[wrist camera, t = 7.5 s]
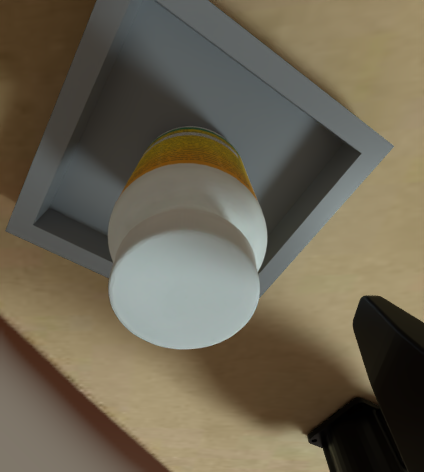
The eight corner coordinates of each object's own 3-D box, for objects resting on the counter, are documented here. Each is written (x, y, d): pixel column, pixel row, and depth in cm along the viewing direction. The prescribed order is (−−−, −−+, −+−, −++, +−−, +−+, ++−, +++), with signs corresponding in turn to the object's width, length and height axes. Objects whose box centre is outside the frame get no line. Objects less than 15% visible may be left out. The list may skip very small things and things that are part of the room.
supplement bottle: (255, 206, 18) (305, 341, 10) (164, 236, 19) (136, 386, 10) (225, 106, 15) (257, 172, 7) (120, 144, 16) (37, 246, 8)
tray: (225, 304, 22) (228, 332, 20) (28, 209, 18) (5, 231, 16) (368, 134, 17) (394, 146, 15) (135, -47, 13) (122, -67, 11)
